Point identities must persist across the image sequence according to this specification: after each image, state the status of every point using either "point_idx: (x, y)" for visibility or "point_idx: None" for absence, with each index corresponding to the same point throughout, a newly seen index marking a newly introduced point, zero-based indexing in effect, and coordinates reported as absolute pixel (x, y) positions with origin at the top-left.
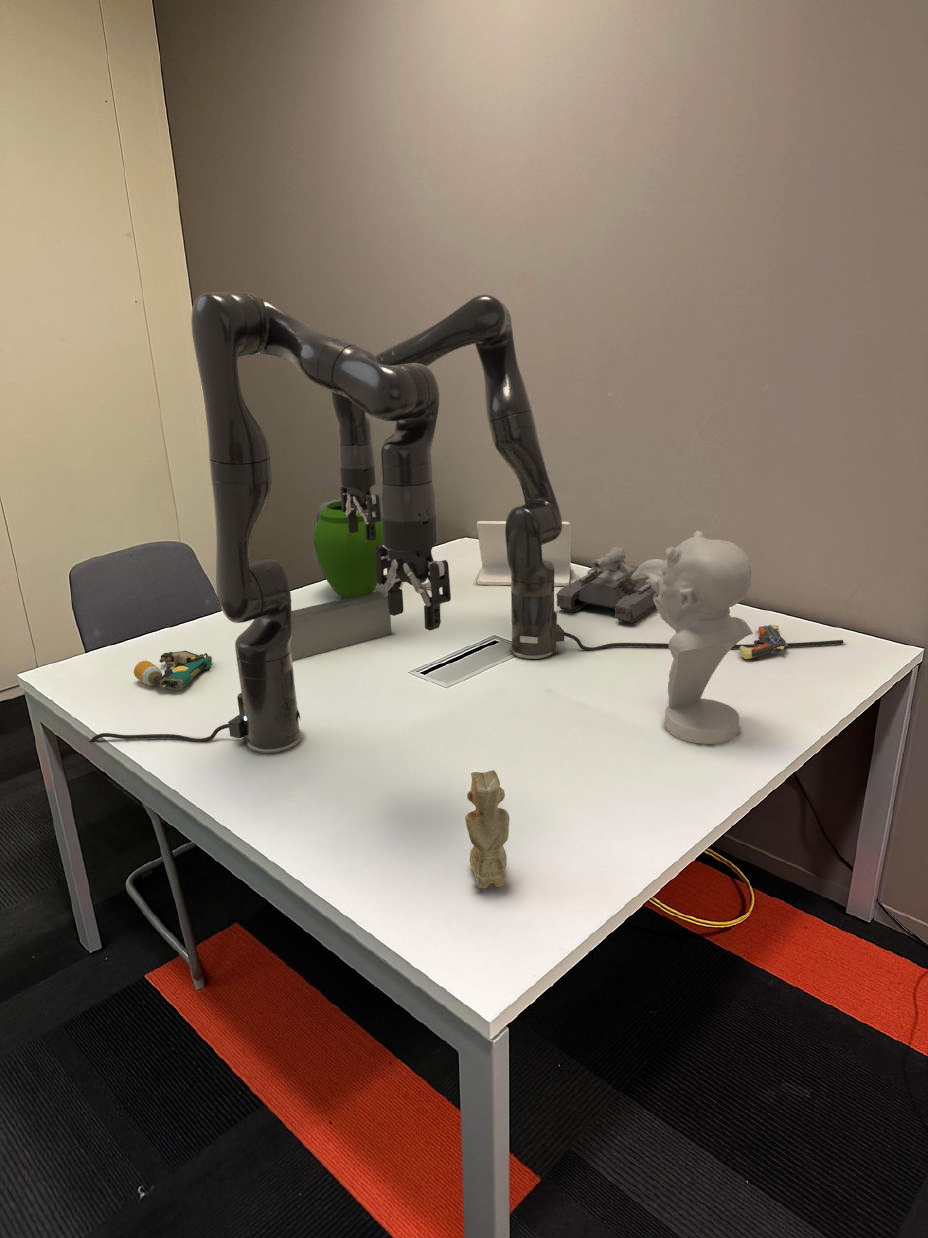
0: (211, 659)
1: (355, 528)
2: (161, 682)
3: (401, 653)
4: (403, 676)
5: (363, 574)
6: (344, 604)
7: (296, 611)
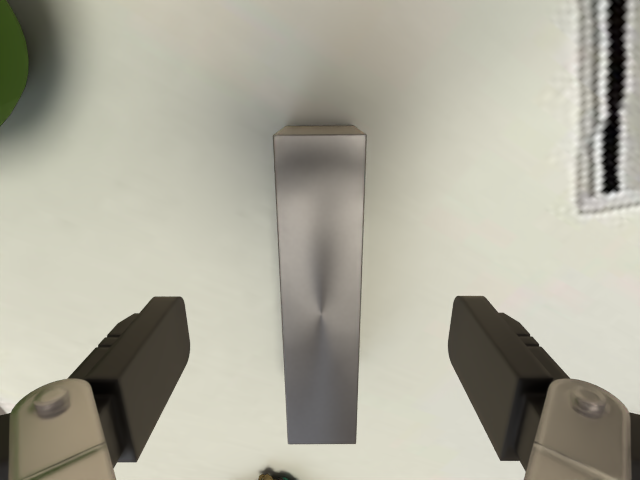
0: (270, 476)
1: (175, 330)
2: None
3: (479, 170)
4: (586, 232)
5: (1, 50)
6: (332, 284)
7: (299, 400)
